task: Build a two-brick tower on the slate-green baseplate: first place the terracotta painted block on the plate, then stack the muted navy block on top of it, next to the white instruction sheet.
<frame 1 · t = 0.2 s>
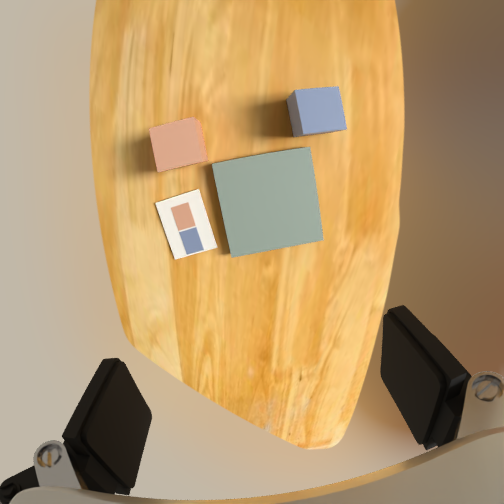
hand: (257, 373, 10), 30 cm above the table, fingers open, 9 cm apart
brick b: (309, 115, 35), on the table
brick a: (184, 146, 35), on the table
baseplate: (268, 200, 38), on the table
instruction sheet: (186, 225, 38), on the table
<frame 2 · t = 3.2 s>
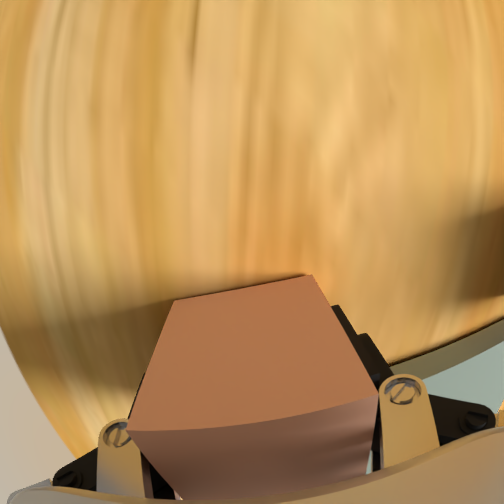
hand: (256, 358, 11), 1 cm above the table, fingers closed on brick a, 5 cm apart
brick a: (255, 345, 11), on the table, touching gripper
baseplate: (426, 419, 14), on the table
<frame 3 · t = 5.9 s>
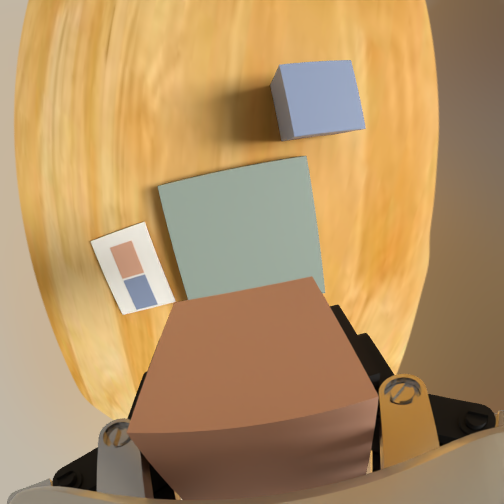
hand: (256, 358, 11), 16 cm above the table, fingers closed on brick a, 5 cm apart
brick b: (304, 108, 23), on the table
brick a: (255, 346, 11), point 16 cm above the table, touching gripper
baseplate: (245, 237, 26), on the table
instruction sheet: (132, 271, 27), on the table
when the fingers open (3 cm above the table, at t = 8.5 s): brick a stays where it is, resting on baseplate.
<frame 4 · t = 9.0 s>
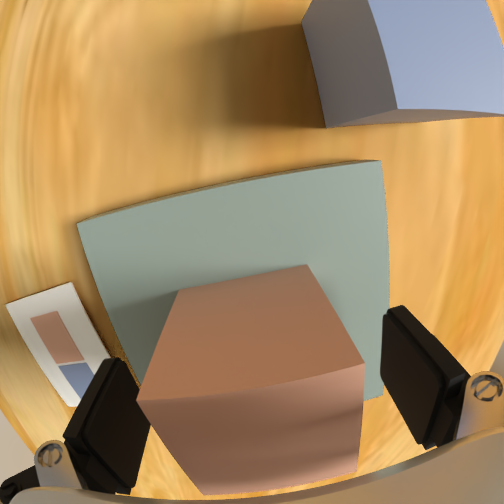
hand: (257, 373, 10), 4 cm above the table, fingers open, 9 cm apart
brick b: (368, 69, 10), on the table
brick a: (254, 332, 12), point 1 cm above the table, touching baseplate
baseplate: (252, 315, 14), on the table
instruction sheet: (67, 355, 14), on the table
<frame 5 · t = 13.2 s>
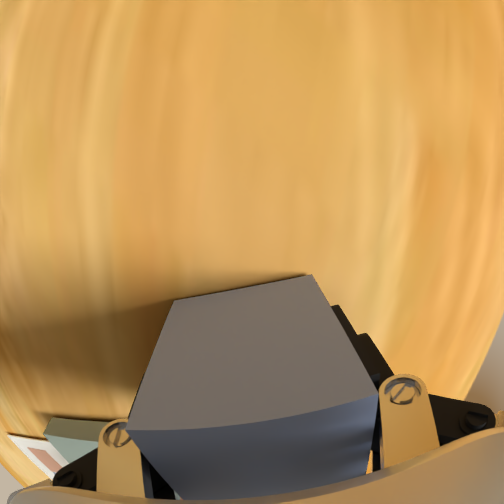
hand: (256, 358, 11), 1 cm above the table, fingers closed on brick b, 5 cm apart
brick b: (255, 345, 11), on the table, touching gripper
baseplate: (174, 477, 14), on the table
instruction sheet: (57, 469, 15), on the table
when the fingers open (9 cm above the table, at t = 17.9 s): brick b stays where it is, resting on brick a.
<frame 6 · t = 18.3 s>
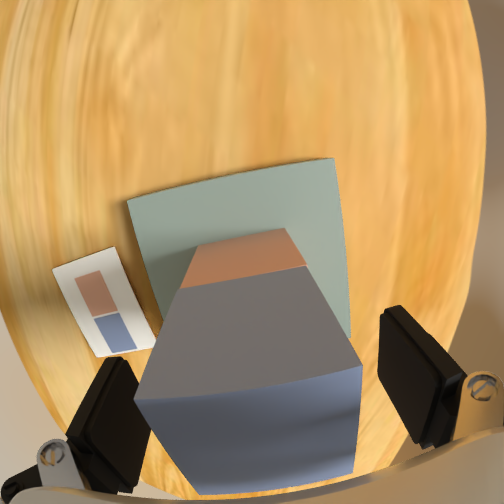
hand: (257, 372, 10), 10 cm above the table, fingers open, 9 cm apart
brick b: (252, 332, 12), point 7 cm above the table, touching brick a
brick a: (249, 276, 18), point 1 cm above the table, touching baseplate, brick b
baseplate: (248, 268, 19), on the table
instruction sheet: (103, 308, 20), on the table
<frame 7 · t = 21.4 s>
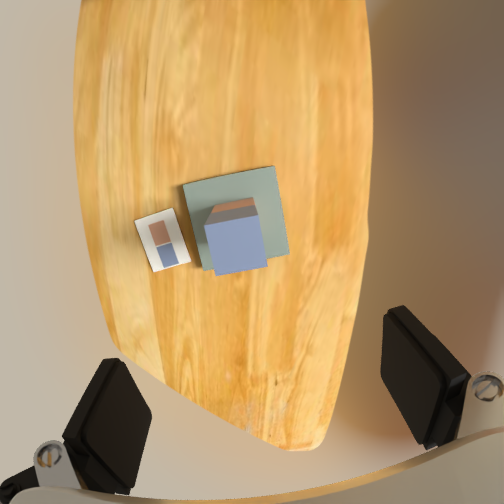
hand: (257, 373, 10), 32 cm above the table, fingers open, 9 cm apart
brick b: (236, 230, 34), point 7 cm above the table, touching brick a
brick a: (237, 219, 39), point 1 cm above the table, touching baseplate, brick b
baseplate: (237, 217, 41), on the table
instruction sheet: (162, 240, 41), on the table
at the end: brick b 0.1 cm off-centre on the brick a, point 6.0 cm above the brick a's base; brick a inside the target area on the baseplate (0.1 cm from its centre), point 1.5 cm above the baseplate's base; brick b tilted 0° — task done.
